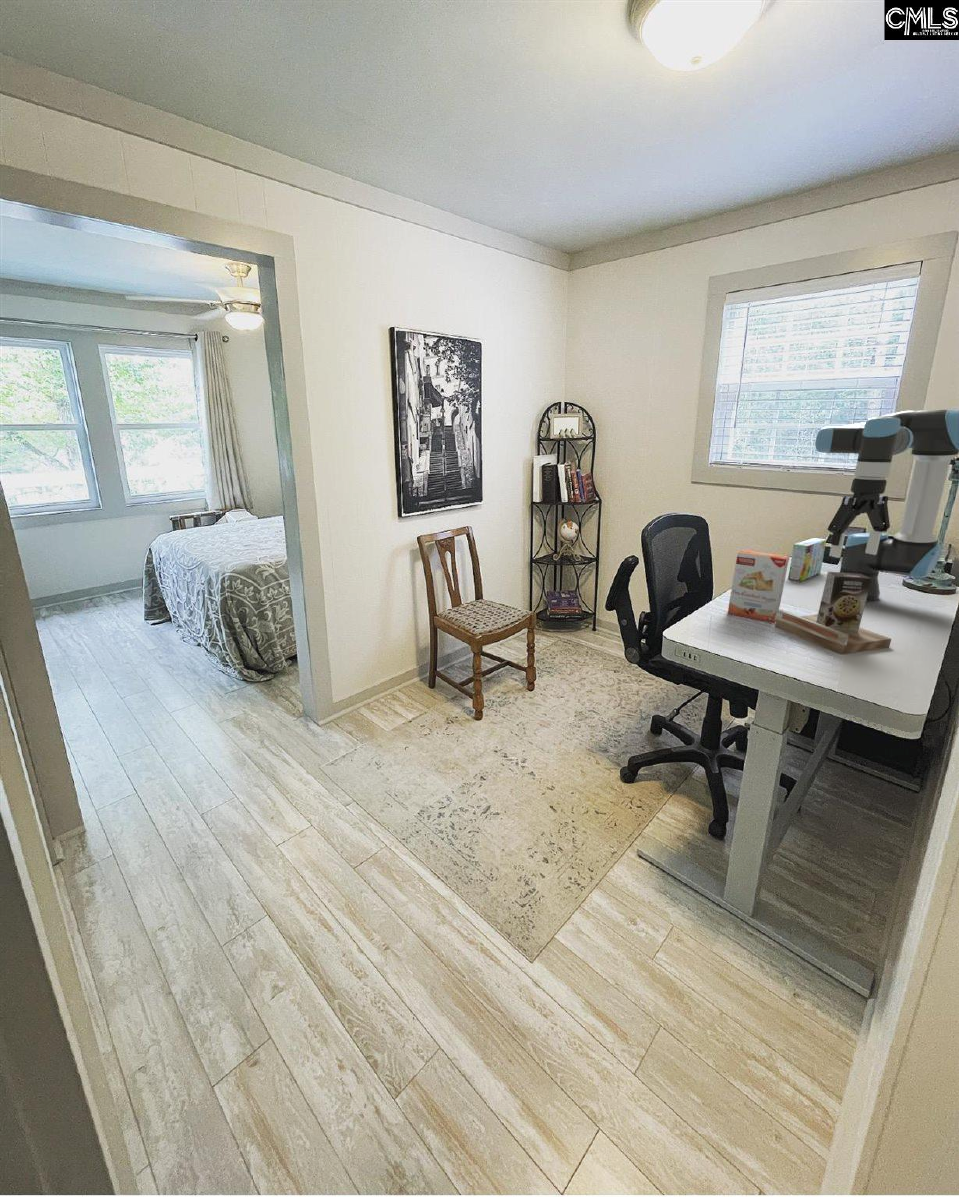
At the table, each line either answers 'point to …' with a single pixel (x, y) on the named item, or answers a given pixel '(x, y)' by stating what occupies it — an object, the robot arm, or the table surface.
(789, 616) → the shelf board
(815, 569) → the snack box
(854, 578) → the cookie box
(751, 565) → the cracker box
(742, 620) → the table surface
